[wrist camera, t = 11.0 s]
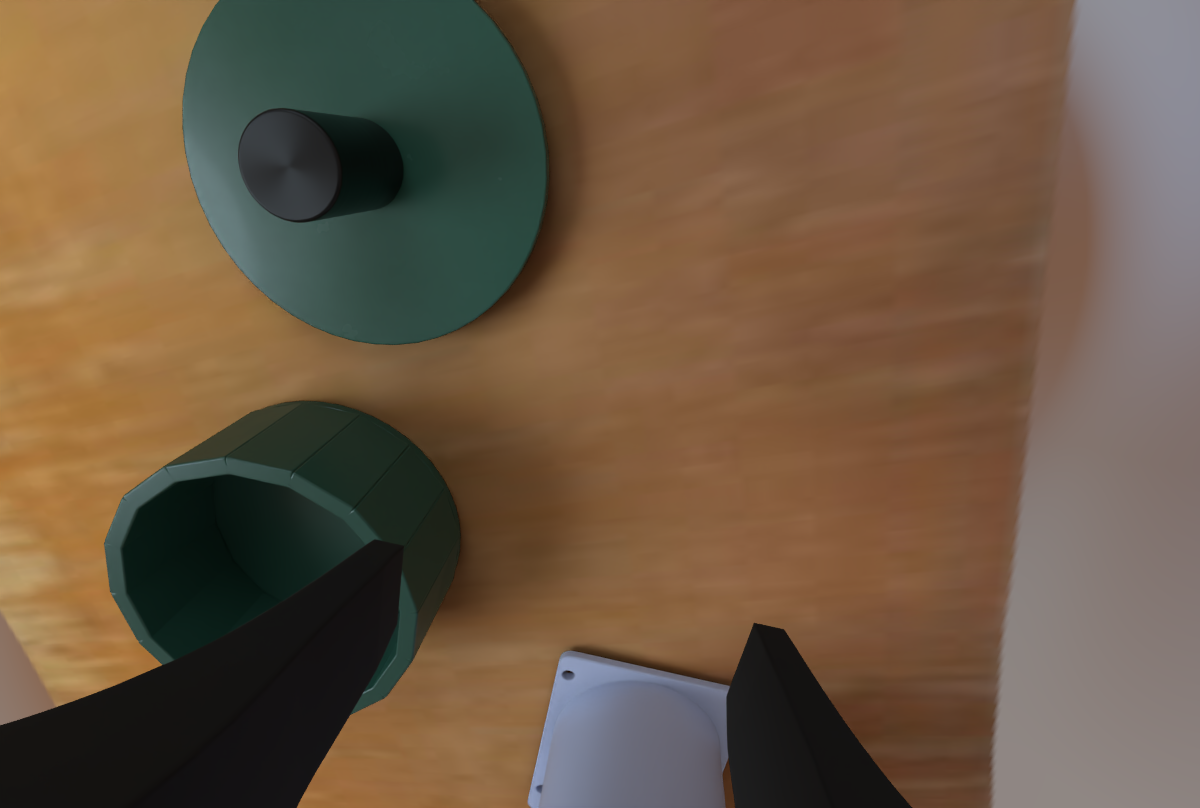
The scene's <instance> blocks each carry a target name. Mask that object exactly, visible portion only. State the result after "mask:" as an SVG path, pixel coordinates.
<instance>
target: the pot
mask: <svg viewBox="0 0 1200 808" xmlns="http://www.w3.org/2000/svg"><path fill="white" fill-rule="evenodd" d="M374 539H376V540H381V541H385V542H390V543H394V544H399V545H403V546H404V552H403V564H402V575H401V587H400V598H399V610H398V621H397V625H396V628H395V630H394V632H393V635H392V637H391V639H390V641H389V644H388V646H387V648H386V651H385V653H384V655H383V657H382V659H381V661H380V664H379V666H378V668H377V670H376V672H375V674H374V675H373V677H372V679H371V680H370V682H369V684H368V686H367V687H366V689H365V691H364V692H363V694H362V696H361V697H360V699H359V701H358V702H357V704H356V706H355V708H354V709H353V711H352V713H351V714H353V713H355V712H357V711H359V710H361V709H363V708H365V707H367V706H369V705H371V704H374V703H376V702H378V701H380V700H382V699H384V698H385V697H386V696H387V695H388V694H389V693H390V691H391V690H392V689H393V687H394V686H395V685H396V683H397V682H398V680H399V679H400V678H401V676H402V675H403V674H404V672H405V671H406V670H407V668H408V667H409V665H410V664H411V663H412V661H413V659H414V657H415V655H416V653H417V651H418V649H419V647H420V645H421V643H422V641H423V639H424V637H425V635H426V633H427V631H428V629H429V627H430V625H431V623H432V621H433V619H434V617H435V615H436V613H437V611H438V609H439V607H440V605H441V603H442V601H443V599H444V597H445V595H446V593H447V591H448V589H449V587H450V585H451V583H452V581H453V578H454V573H455V568H456V566H457V562H458V557H459V553H460V540H461V535H460V525H459V519H458V515H457V511H456V506H455V504H454V501H453V499H452V496H451V494H450V491H449V489H448V487H447V486H446V484H445V482H444V480H443V478H442V476H441V475H440V474H439V472H438V471H437V469H436V468H435V467H434V465H433V464H432V462H431V461H430V460H429V459H428V458H427V457H426V456H425V455H424V454H423V452H422V451H421V450H420V449H419V448H418V447H417V446H415V445H414V444H413V443H412V442H411V441H410V440H409V439H407V438H406V437H405V436H404V435H402V434H401V433H400V432H398V431H397V430H395V429H394V428H392V427H391V426H389V425H388V424H386V423H384V422H382V421H380V420H378V419H377V418H375V417H373V416H370V415H368V414H366V413H363V412H361V411H358V410H356V409H352V408H349V407H345V406H342V405H338V404H332V403H326V402H318V401H296V402H285V403H281V404H277V405H273V406H269V407H266V408H264V409H261V410H256V411H253V412H251V413H249V414H247V415H246V416H244V417H243V418H241V419H239V420H238V421H236V422H235V423H233V424H231V425H230V426H228V427H226V428H225V429H223V430H222V431H220V432H218V433H217V434H215V435H214V436H212V437H210V438H209V439H207V440H205V441H204V442H202V443H201V444H199V445H197V446H196V447H194V448H193V449H191V450H189V451H188V452H186V453H185V454H183V455H181V456H180V457H178V458H176V459H175V460H173V461H172V462H170V463H168V464H167V465H165V466H164V467H162V468H161V469H159V470H158V471H157V472H155V473H154V474H153V475H151V476H150V477H148V478H147V479H146V480H144V481H143V482H142V483H140V484H139V485H137V486H136V487H135V488H133V489H132V490H131V491H129V492H128V493H126V494H125V495H124V497H123V498H122V500H121V502H120V504H119V507H118V509H117V512H116V514H115V517H114V519H113V522H112V524H111V527H110V529H109V532H108V534H107V537H106V539H105V543H104V546H105V554H106V562H107V570H108V578H109V586H110V592H111V593H112V596H113V598H114V600H115V601H116V603H117V605H118V607H119V609H120V610H121V612H122V614H123V616H124V617H125V619H126V621H127V623H128V624H129V626H130V628H131V630H132V631H133V633H134V635H135V637H136V639H137V640H138V641H139V643H140V644H141V645H142V646H143V647H144V648H145V649H146V650H147V651H148V652H149V653H151V654H152V655H153V656H154V657H155V658H156V659H157V660H158V661H159V662H160V663H161V664H162V665H164V664H166V663H169V662H171V661H173V660H176V659H178V658H180V657H182V656H184V655H186V654H188V653H190V652H192V651H194V650H196V649H199V648H201V647H203V646H205V645H207V644H209V643H211V642H213V641H214V640H216V639H218V638H220V637H222V636H224V635H226V634H228V633H229V632H231V631H233V630H235V629H237V628H238V627H240V626H242V625H244V624H245V623H247V622H249V621H250V620H252V619H254V618H255V617H257V616H259V615H260V614H262V613H264V612H265V611H267V610H269V609H271V608H272V607H274V606H276V605H277V604H279V603H280V602H282V601H284V600H285V599H287V598H288V597H290V596H291V595H293V594H295V593H296V592H298V591H299V590H301V589H302V588H304V587H305V586H307V585H308V584H310V583H311V582H313V581H314V580H316V579H317V578H319V577H320V576H322V575H323V574H325V573H326V572H328V571H329V570H330V569H332V568H333V567H335V566H336V565H338V564H339V563H341V562H342V561H343V560H345V559H346V558H348V557H349V556H350V555H352V554H353V553H355V552H356V551H358V550H359V549H360V548H362V547H363V546H365V545H366V544H368V543H369V542H371V541H373V540H374ZM351 714H350V715H351Z"/></svg>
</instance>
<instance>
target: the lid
mask: <svg viewBox="0 0 1200 808" xmlns="http://www.w3.org/2000/svg"><path fill="white" fill-rule="evenodd" d="M183 135H184V144H185V153H186V157H187V162H188V166H189V171H190V175H191V179H192V182H193V185H194V188H195V191H196V193H197V196H198V199H199V202H200V204H201V207H202V209H203V211H204V213H205V215H206V217H207V220H208V222H209V224H210V226H211V228H212V229H213V231H214V233H215V234H216V236H217V238H218V239H219V241H220V243H221V244H222V246H223V248H224V249H225V250H226V252H227V253H228V254H229V256H230V257H231V258H232V260H233V261H234V262H235V264H236V265H237V266H238V268H239V269H240V270H241V271H242V272H243V273H244V274H245V275H246V276H247V278H248V279H249V280H250V281H251V282H252V283H253V284H254V285H255V286H256V287H257V288H258V289H259V290H260V291H262V292H263V293H264V294H265V295H266V296H267V297H268V298H270V299H271V300H272V301H273V302H274V303H276V304H277V305H279V306H280V307H281V308H283V309H284V310H286V311H287V312H288V313H290V314H291V315H293V316H295V317H296V318H298V319H300V320H302V321H304V322H305V323H307V324H309V325H311V326H313V327H315V328H318V329H320V330H322V331H325V332H327V333H330V334H332V335H335V336H339V337H342V338H346V339H349V340H353V341H358V342H364V343H371V344H384V345H400V344H410V343H418V342H422V341H426V340H430V339H435V338H438V337H441V336H443V335H446V334H448V333H451V332H453V331H456V330H458V329H460V328H461V327H463V326H465V325H467V324H468V323H470V322H472V321H474V320H475V319H477V318H478V317H479V316H480V315H482V314H483V313H484V312H485V311H487V310H488V309H489V308H491V307H492V306H493V305H494V304H495V303H496V302H497V301H498V300H499V299H500V298H501V297H502V296H503V295H504V294H505V293H506V292H507V291H508V290H509V289H510V287H511V286H512V285H513V283H514V282H515V280H516V279H517V278H518V276H519V275H520V273H521V272H522V271H523V269H524V267H525V265H526V263H527V261H528V259H529V257H530V255H531V254H532V252H533V250H534V247H535V244H536V242H537V239H538V236H539V233H540V231H541V228H542V223H543V219H544V215H545V210H546V206H547V198H548V187H549V151H548V145H547V138H546V131H545V125H544V121H543V117H542V114H541V110H540V106H539V103H538V99H537V96H536V94H535V91H534V89H533V86H532V84H531V82H530V79H529V77H528V74H527V72H526V70H525V68H524V66H523V64H522V63H521V61H520V59H519V57H518V55H517V53H516V52H515V50H514V48H513V46H512V45H511V44H510V42H509V41H508V39H507V38H506V37H505V35H504V34H503V32H502V31H501V30H500V28H499V27H498V25H497V24H496V23H495V22H494V21H493V20H492V18H491V17H490V16H489V15H488V14H487V13H486V12H485V11H484V10H483V9H482V8H481V6H480V5H479V4H478V3H477V2H476V1H475V0H219V2H218V3H217V4H216V5H215V7H214V8H213V10H212V12H211V13H210V15H209V17H208V18H207V20H206V22H205V23H204V25H203V27H202V29H201V31H200V34H199V36H198V38H197V41H196V43H195V46H194V48H193V50H192V54H191V58H190V62H189V65H188V69H187V73H186V79H185V87H184V94H183Z"/></svg>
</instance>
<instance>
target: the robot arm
mask: <svg viewBox="0 0 1200 808" xmlns="http://www.w3.org/2000/svg"><path fill="white" fill-rule="evenodd" d="M403 552H404V546H403V545H399V544H394V543H390V542H385V541H381V540H376V539H374V540H373V541H371V542H369V543H368V544H366V545H365V546H363V547H362V548H360V549H359V550H358V551H356V552H355V553H353V554H352V555H350V556H349V557H348V558H346V559H345V560H343V561H342V562H341V563H339V564H338V565H336V566H335V567H333V568H332V569H330V570H329V571H328V572H326V573H325V574H323V575H322V576H320V577H319V578H317V579H316V580H314V581H313V582H311V583H310V584H308V585H307V586H305V587H304V588H302V589H301V590H299V591H298V592H296V593H295V594H293V595H291V596H290V597H288V598H287V599H285V600H284V601H282V602H280V603H279V604H277V605H276V606H274V607H272V608H271V609H269V610H267V611H265V612H264V613H262V614H260V615H259V616H257V617H255V618H254V619H252V620H250V621H249V622H247V623H245V624H244V625H242V626H240V627H238V628H237V629H235V630H233V631H231V632H229V633H228V634H226V635H224V636H222V637H220V638H218V639H216V640H214V641H213V642H211V643H209V644H207V645H205V646H203V647H201V648H199V649H196V650H194V651H192V652H190V653H188V654H186V655H184V656H182V657H180V658H178V659H176V660H173V661H171V662H169V663H166V664H164V665H162V666H160V667H157V668H155V669H153V670H150V671H148V672H146V673H143V674H141V675H139V676H136V677H134V678H132V679H129V680H127V681H125V682H122V683H120V684H118V685H115V686H113V687H110V688H107V689H105V690H102V691H100V692H97V693H94V694H92V695H89V696H86V697H84V698H81V699H78V700H76V701H73V702H70V703H67V704H64V705H61V706H58V707H56V708H53V709H50V710H47V711H44V712H41V713H38V714H35V715H32V716H30V717H26V718H23V719H20V720H17V721H13V722H10V723H7V724H3V725H0V808H297V806H298V804H299V802H300V800H301V798H302V796H303V794H304V792H305V791H306V789H307V787H308V785H309V783H310V782H311V780H312V778H313V776H314V774H315V773H316V771H317V769H318V768H319V766H320V764H321V763H322V761H323V759H324V758H325V756H326V754H327V753H328V751H329V749H330V748H331V746H332V744H333V743H334V741H335V739H336V738H337V736H338V734H339V733H340V731H341V729H342V728H343V726H344V724H345V723H346V721H347V719H348V718H349V716H350V714H351V713H352V711H353V709H354V708H355V706H356V704H357V702H358V701H359V699H360V697H361V696H362V694H363V692H364V691H365V689H366V687H367V686H368V684H369V682H370V680H371V679H372V677H373V675H374V674H375V672H376V670H377V668H378V666H379V664H380V661H381V659H382V657H383V655H384V653H385V651H386V648H387V646H388V644H389V641H390V639H391V637H392V635H393V632H394V630H395V628H396V625H397V621H398V610H399V598H400V587H401V575H402V564H403ZM566 670H569V671H572V672H573V673H568V672H566ZM728 758H729V765H730V772H731V780H732V787H733V794H734V801H735V808H912V807H911V806H910V805H909V804H908V802H907V801H906V800H905V799H904V798H903V797H902V796H901V794H900V793H899V792H898V791H897V790H896V788H895V787H894V786H893V785H892V784H891V782H890V781H889V780H888V779H887V777H886V776H885V775H884V774H883V772H882V771H881V770H880V769H879V767H878V766H877V765H876V763H875V762H874V761H873V759H872V758H871V757H870V755H869V754H868V753H867V751H866V750H865V749H864V748H863V746H862V745H861V744H860V742H859V741H858V740H857V738H856V737H855V735H854V734H853V733H852V731H851V730H850V728H849V727H848V726H847V724H846V723H845V721H844V720H843V719H842V717H841V716H840V714H839V713H838V711H837V710H836V708H835V707H834V705H833V704H832V703H831V701H830V700H829V698H828V697H827V695H826V694H825V692H824V691H823V689H822V688H821V686H820V685H819V683H818V681H817V680H816V678H815V677H814V675H813V674H812V672H811V671H810V669H809V668H808V666H807V664H806V663H805V661H804V660H803V658H802V657H801V655H800V653H799V652H798V650H797V649H796V647H795V646H794V644H793V642H792V641H791V639H790V638H789V636H788V635H787V633H786V632H785V630H784V629H780V628H775V627H771V626H766V625H762V624H757V623H754V625H753V627H752V630H751V632H750V635H749V638H748V640H747V643H746V646H745V648H744V651H743V654H742V656H741V659H740V662H739V664H738V667H737V670H736V672H735V675H734V677H733V680H732V683H731V685H730V686H727V685H723V684H718V683H714V682H709V681H705V680H701V679H696V678H692V677H687V676H683V675H678V674H674V673H670V672H665V671H661V670H656V669H652V668H647V667H643V666H638V665H634V664H630V663H625V662H621V661H616V660H612V659H607V658H603V657H598V656H594V655H590V654H585V653H581V652H576V651H566V652H564V653H562V654H561V656H560V659H559V664H558V668H557V673H556V677H555V682H554V686H553V690H552V695H551V699H550V704H549V708H548V713H547V717H546V722H545V726H544V730H543V735H542V739H541V744H540V748H539V753H538V757H537V761H536V766H535V770H534V775H533V779H532V784H531V788H530V793H529V797H528V804H529V806H530V807H531V808H726V806H725V796H724V786H723V775H722V773H723V770H724V768H725V765H726V763H727V760H728Z"/></svg>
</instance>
